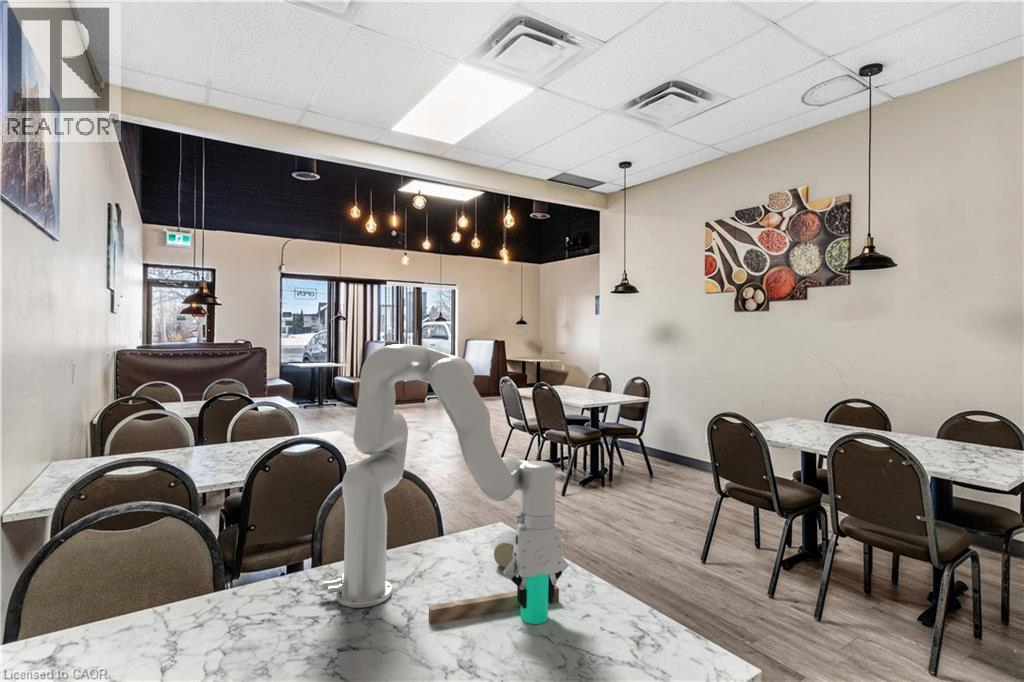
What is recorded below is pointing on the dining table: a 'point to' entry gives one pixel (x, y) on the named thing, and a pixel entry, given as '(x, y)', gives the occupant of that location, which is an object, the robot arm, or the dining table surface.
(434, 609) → the rail
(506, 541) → the ceramic mug
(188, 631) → the dining table surface
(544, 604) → the candle
